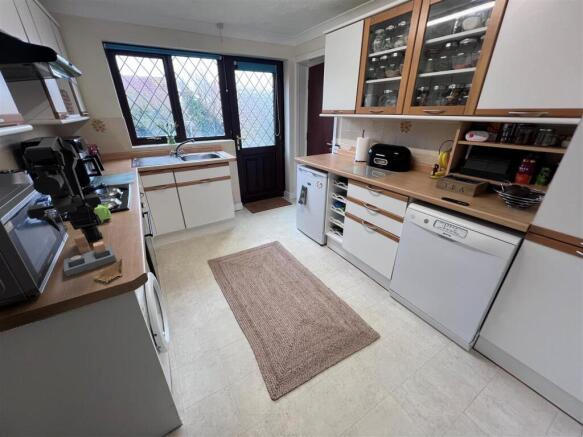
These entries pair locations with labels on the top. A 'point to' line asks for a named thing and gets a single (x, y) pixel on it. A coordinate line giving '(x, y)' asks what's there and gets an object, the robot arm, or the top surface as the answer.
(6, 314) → the top surface
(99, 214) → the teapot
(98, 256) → the board
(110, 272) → the shard
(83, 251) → the brown wooden block
